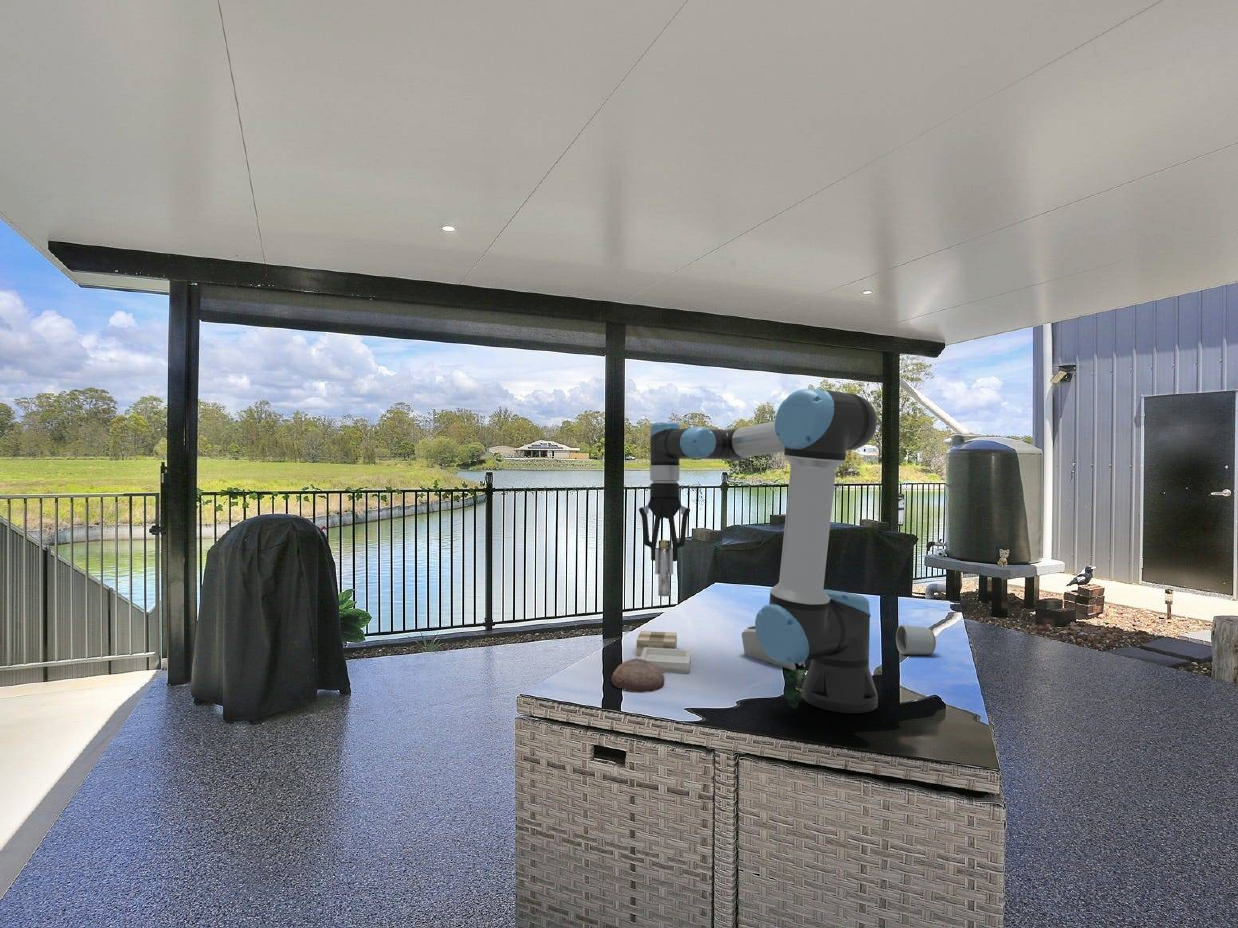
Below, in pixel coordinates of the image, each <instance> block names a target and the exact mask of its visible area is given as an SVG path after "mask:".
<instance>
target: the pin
mask: <svg viewBox="0 0 1238 928" xmlns="http://www.w3.org/2000/svg"><path fill="white" fill-rule="evenodd" d="M658 548H659V567H658V574H657V576H658V579H657V580H658V581H657V583H658V589H657V590H658V591H657V593H658V594H657V596H659V597H671V575H670V548H671V540H667V539H659V540H658Z"/></svg>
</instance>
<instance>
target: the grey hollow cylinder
mask: <svg viewBox="0 0 1238 928" xmlns="http://www.w3.org/2000/svg"><path fill="white" fill-rule="evenodd" d="M936 641H937V639H936V635H935V633H934V632H933V630H932V629H931V628H928V627H926V626H917V625H916V626H914V625H907V624H906V625H905V624H899V626H898V627H897V630H896V632H895V644H896V647H897V650H898V653H900V655H914V656H915V655H920V656H921V655H922V656H926V655H927V656H928V655H932V654H933V653H934V652H935V650H936V645H937V642H936Z"/></svg>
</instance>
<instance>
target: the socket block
mask: <svg viewBox="0 0 1238 928" xmlns="http://www.w3.org/2000/svg"><path fill="white" fill-rule="evenodd" d="M677 641H678V632H671V631H669V632H667V631H646V630H640V631H639V634H638V637H637V639H636V656H639V657H641V654H642V651H643V649H644V647H648V648H667V649H678V648H677V646H678V645H677V644H678V643H677Z"/></svg>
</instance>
